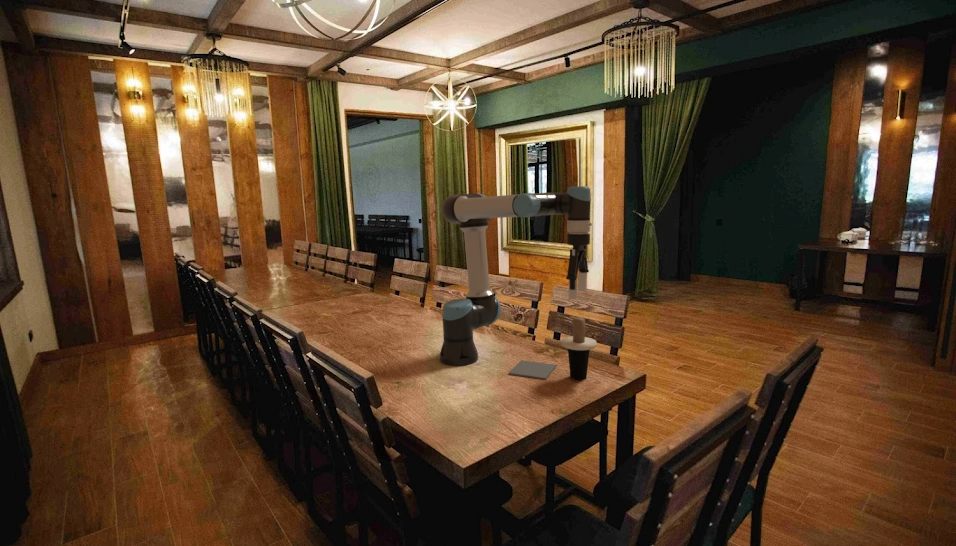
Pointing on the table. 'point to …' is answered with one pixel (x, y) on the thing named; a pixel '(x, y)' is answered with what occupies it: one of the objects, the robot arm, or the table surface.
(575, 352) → the cup
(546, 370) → the mat
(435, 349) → the table surface
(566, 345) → the lid
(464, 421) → the table surface
